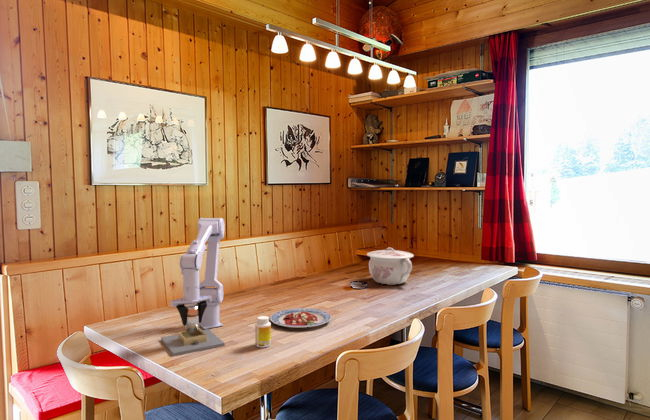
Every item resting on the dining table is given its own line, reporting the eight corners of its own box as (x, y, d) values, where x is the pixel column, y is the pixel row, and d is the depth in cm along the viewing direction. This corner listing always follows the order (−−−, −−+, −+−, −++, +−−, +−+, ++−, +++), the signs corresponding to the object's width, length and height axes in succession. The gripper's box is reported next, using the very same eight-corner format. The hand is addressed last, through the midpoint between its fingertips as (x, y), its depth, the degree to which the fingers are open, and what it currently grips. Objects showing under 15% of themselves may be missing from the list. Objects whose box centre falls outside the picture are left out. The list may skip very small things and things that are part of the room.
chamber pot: (367, 276, 277) (367, 243, 275) (412, 278, 273) (412, 244, 272) (364, 287, 249) (365, 250, 248) (415, 289, 245) (415, 251, 244)
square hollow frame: (177, 337, 166) (176, 331, 166) (199, 333, 171) (198, 327, 170) (184, 346, 157) (184, 340, 157) (207, 342, 162) (207, 335, 161)
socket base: (161, 340, 167) (161, 337, 167) (208, 331, 176) (208, 328, 176) (173, 356, 152) (173, 353, 151) (224, 345, 161) (224, 343, 161)
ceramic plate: (262, 316, 196) (262, 310, 196) (317, 310, 206) (317, 303, 206) (280, 335, 172) (280, 328, 172) (341, 327, 183) (341, 320, 182)
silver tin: (183, 329, 164) (182, 305, 164) (196, 326, 167) (196, 303, 166) (187, 333, 160) (186, 308, 159) (201, 330, 163) (201, 306, 162)
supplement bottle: (274, 345, 162) (274, 317, 161) (262, 349, 158) (261, 321, 157) (264, 341, 166) (264, 314, 165) (252, 345, 162) (252, 317, 161)
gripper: (173, 291, 155) (174, 329, 156) (214, 286, 163) (214, 322, 164) (168, 287, 161) (169, 324, 162) (208, 282, 169) (208, 317, 170)
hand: (191, 323), depth 163 cm, fingers closed on silver tin, 5 cm apart
